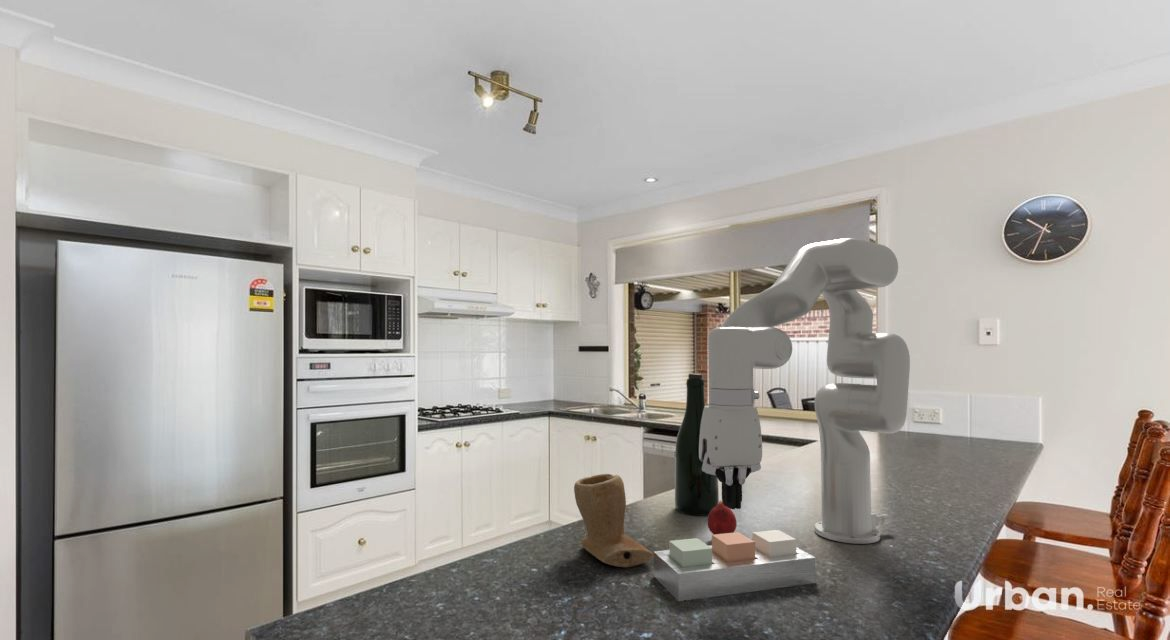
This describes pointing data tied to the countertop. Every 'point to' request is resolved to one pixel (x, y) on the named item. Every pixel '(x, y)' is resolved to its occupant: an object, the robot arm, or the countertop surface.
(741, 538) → the terracotta key
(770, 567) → the keypad housing
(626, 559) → the brown hollow boot-shaped piece
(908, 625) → the countertop surface
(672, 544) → the sage key
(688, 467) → the green wine bottle
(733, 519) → the onion
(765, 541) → the cream key
